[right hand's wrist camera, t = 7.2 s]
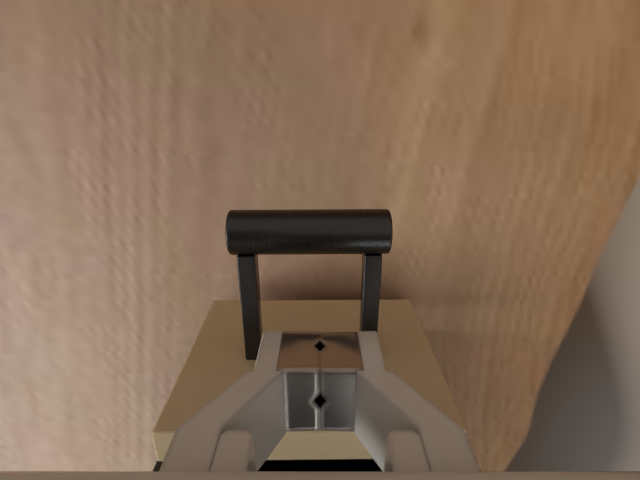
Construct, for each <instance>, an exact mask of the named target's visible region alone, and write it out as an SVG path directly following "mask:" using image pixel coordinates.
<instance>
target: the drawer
mask: <svg viewBox="0 0 640 480" xmlns="http://www.w3.org/2000/svg"><path fill="white" fill-rule="evenodd" d="M226 244H227V249H228V251H229V253H230V254H232V255H238V256H237V265H238V276H239V288H240V299H241V301H213V303H212V305H211V307H210V309H209V311H208V314H207V316H206V318H205V320H204V322H203V324H202V326H201V328H200V331H199V333H198V335H197V337H196V339H195V341H194V343H193V346H192V348H191V350H190V352H189V354H188V356H187V358H186V360H185V363H184V365H183V367H182V369H181V371H180V373H179V375H178V377H177V380H176V382H175V384H174V386H173V388H172V390H171V392H170V395H169V397H168V399H167V401H166V403H165V405H164V407H163V409H162V412H161V414H160V416H159V418H158V420H157V422H156V424H155V426H154V429H153V431H152V437H153V442H154V446H155V451H156V456H157V460H158V461H163V460H164V458H165V455H166V453H167V451H168V448H169V446H170V444H171V441H172V439H173V436H174V434H175V432H176V429H177V428H178V427H179V426H180V425H182V424H183V423H184V422H185V421H187V420H188V419H189V418H190V417H192V416H193V415H194V414H195V413H196V412H198V411H199V410H200V409H201V408H203V407H204V406H205V405H206V404H208V403H209V402H210V401H211V400H213V399H214V398H215V397H216V396H218V395H219V394H220V393H221V392H223V391H224V390H225V389H226V388H228V387H229V386H230V385H231V384H233V383H234V382H235V381H236V380H238V379H239V378H240V377H241V376H243V375H244V374H245V373H246V372H247V371H254V368H255V364H256V359H257V355H258V351H259V346H260V342H261V338H262V334H263V332H264V331H282V332H283V331H304V332H357V331H376V332H377V334H378V338H379V343H380V347H381V351H382V355H383V359H384V364H385V368H386V371H393V372H394V373H395V374H396V375H398V376H399V377H400V378H401V379H402V380H404V381H405V382H406V383H407V384H409V385H410V386H411V387H412V388H414V389H415V390H416V391H417V392H419V393H420V394H421V395H422V396H423V397H425V398H426V399H427V400H428V401H430V402H431V403H432V404H433V405H435V406H436V407H437V408H438V409H440V410H441V411H442V412H443V413H445V414H446V415H447V416H448V417H449V418H451V419H452V420H453V421H454V422H456V423H457V424H458V425H459V426H461V427H462V428H463V429H464V431H465V434H467V428H466V425H465V423H464V421H463V418H462V416H461V414H460V412H459V409H458V407H457V405H456V403H455V400H454V398H453V396H452V393H451V391H450V389H449V387H448V384H447V382H446V380H445V378H444V375H443V373H442V371H441V368H440V366H439V364H438V362H437V359H436V357H435V355H434V353H433V350H432V348H431V346H430V343H429V341H428V339H427V337H426V334H425V332H424V330H423V327H422V325H421V323H420V321H419V318H418V316H417V314H416V312H415V309H414V307H413V305H412V302H411V300H409V299H392V300H380V285H381V269H382V255H381V254H387V253H389V252H390V249H391V245H392V218H391V214H390V211H389V210H387V209H340V210H231V211H229V212H228V215H227V219H226ZM264 254H362V279H361V300H264V301H260V286H259V271H258V256H257V255H264ZM258 471H294V472H383V471H382V470H381V469H380V467H379V466H378V465H377V463H376V462H375V460H374V459H373V458H372V456H371V455H370V454H369V452H368V451H367V450H366V448H365V447H364V445H363V444H362V443H361V441H360V440H359V439H358V437H357V436H356V435H355V433H354V431H286V434H285V435H284V436H283V438H282V439H281V440H280V442H279V443H278V445H277V446H276V447H275V449H274V450H273V451H272V453H271V454H270V455H269V457H268V458H267V459H266V461H265V462H264V463H263V465H262V466H261V467H260V469H259V470H258Z"/></svg>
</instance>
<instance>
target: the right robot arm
mask: <svg viewBox="0 0 640 480" xmlns="http://www.w3.org/2000/svg"><path fill="white" fill-rule="evenodd" d="M286 431H354V433H355V435H356V436H357V437H358V439H359V440H360V441H361V443H362V444H363V445H364V447H365V448H366V450H367V451H368V452H369V454H370V455H371V456H372V458H373V459H374V460H375V462H376V463H377V465H378V466H379V467H380V469H381V470H382V471H383V472H294V471H258V470H259V469H260V467H261V466H262V465H263V463H264V462H265V461H266V459H267V458H268V457H269V455H270V454H271V453H272V451H273V450H274V449H275V447H276V446H277V445H278V443H279V442H280V440H281V439H282V438H283V436H284V435H285V434H286ZM0 480H640V472H481V470H480V467H479V465H478V462H477V460H476V458H475V455H474V453H473V450H472V448H471V446H470V443H469V441H468V438H467V436H466V434H465V431H464V429H463V428H462V427H461V426H459V425H458V424H457V423H456V422H454V421H453V420H452V419H451V418H449V417H448V416H447V415H446V414H445V413H443V412H442V411H441V410H440V409H438V408H437V407H436V406H435V405H433V404H432V403H431V402H430V401H428V400H427V399H426V398H425V397H423V396H422V395H421V394H420V393H419V392H417V391H416V390H415V389H414V388H412V387H411V386H410V385H409V384H407V383H406V382H405V381H404V380H402V379H401V378H400V377H399V376H398V375H396V374H395V373H394V372H393V371H386V368H385V364H384V359H383V355H382V351H381V347H380V343H379V338H378V334H377V332H376V331H357V332H304V331H283V332H282V331H264V332H263V334H262V338H261V342H260V346H259V351H258V355H257V359H256V364H255V368H254V371H247V372H246V373H245V374H244V375H243V376H241V377H240V378H239V379H238V380H236V381H235V382H234V383H233V384H231V385H230V386H229V387H228V388H226V389H225V390H224V391H223V392H221V393H220V394H219V395H218V396H216V397H215V398H214V399H213V400H211V401H210V402H209V403H208V404H206V405H205V406H204V407H203V408H201V409H200V410H199V411H198V412H196V413H195V414H194V415H193V416H192V417H190V418H189V419H188V420H187V421H185V422H184V423H183V424H182V425H180V426H179V427H178V428H177V429H176V432H175V434H174V436H173V439H172V441H171V444H170V446H169V448H168V451H167V453H166V455H165V458H164V460H163V462H162V465H161V467H160V470H159V472H82V471H0Z"/></svg>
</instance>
